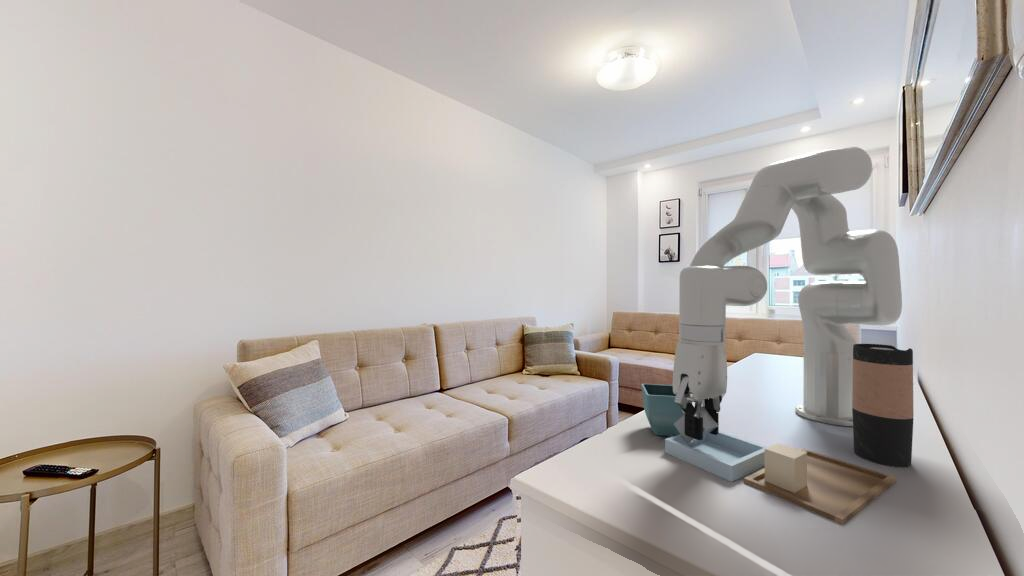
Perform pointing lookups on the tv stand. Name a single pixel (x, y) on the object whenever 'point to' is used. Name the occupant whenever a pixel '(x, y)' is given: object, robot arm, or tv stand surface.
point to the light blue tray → (719, 454)
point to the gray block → (707, 425)
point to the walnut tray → (830, 487)
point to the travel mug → (883, 404)
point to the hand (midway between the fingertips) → (701, 433)
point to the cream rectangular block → (786, 467)
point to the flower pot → (661, 408)
